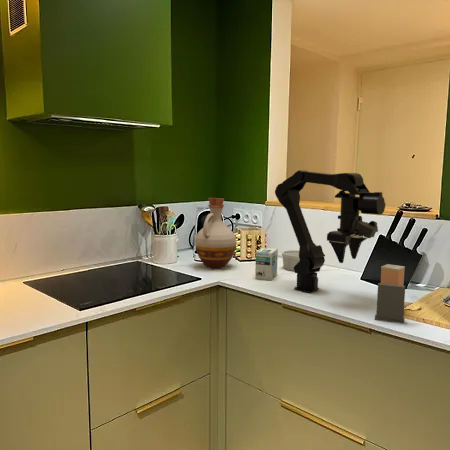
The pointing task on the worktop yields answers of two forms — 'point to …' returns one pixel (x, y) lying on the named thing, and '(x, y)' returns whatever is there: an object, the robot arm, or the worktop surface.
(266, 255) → the light bulb box
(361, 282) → the worktop surface
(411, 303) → the coaster
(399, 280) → the tin
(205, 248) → the jug
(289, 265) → the ramekin
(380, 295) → the screen
